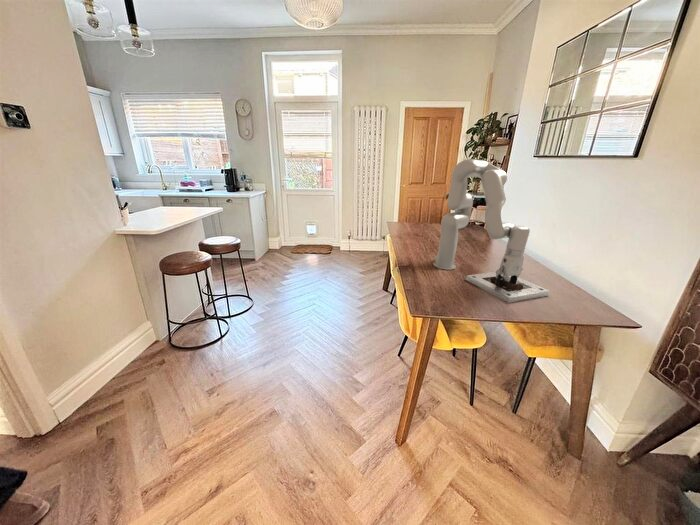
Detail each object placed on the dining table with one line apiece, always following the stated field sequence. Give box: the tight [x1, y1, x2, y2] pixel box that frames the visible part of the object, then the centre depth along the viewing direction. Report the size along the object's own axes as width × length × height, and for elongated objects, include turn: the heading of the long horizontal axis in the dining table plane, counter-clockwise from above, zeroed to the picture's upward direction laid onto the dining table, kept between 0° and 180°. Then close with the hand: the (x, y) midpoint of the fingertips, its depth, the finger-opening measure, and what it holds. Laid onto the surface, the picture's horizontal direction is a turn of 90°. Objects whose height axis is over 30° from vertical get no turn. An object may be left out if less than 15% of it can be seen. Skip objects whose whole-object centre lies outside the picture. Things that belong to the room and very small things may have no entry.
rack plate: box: [465, 271, 551, 304], centre depth 135 cm, size 26×26×3 cm
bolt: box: [489, 277, 523, 291], centre depth 134 cm, size 6×5×15 cm
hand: (505, 285), depth 135 cm, fingers open, 8 cm apart
